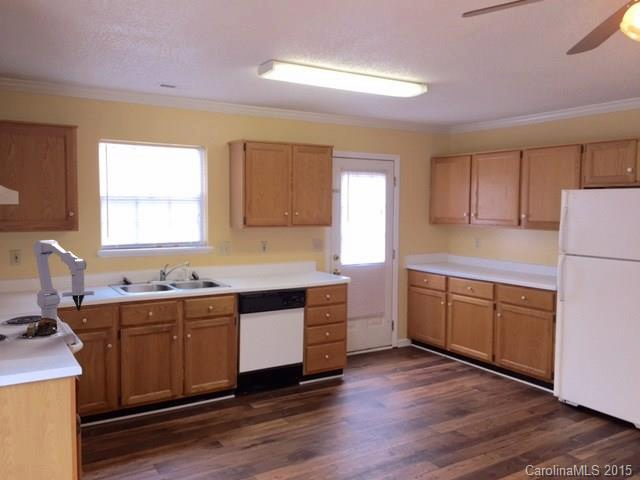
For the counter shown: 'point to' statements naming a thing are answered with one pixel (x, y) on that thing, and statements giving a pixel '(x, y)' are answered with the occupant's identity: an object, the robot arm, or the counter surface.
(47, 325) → the pottery mug
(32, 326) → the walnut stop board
